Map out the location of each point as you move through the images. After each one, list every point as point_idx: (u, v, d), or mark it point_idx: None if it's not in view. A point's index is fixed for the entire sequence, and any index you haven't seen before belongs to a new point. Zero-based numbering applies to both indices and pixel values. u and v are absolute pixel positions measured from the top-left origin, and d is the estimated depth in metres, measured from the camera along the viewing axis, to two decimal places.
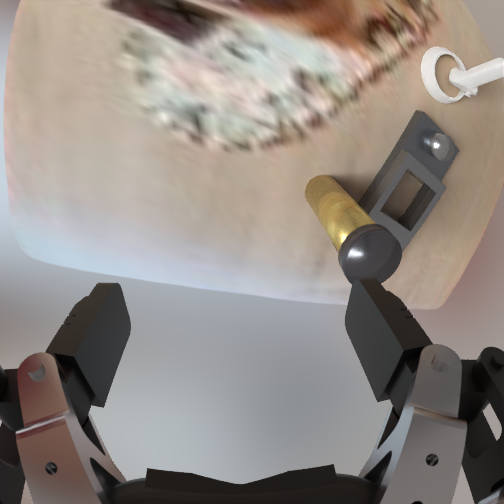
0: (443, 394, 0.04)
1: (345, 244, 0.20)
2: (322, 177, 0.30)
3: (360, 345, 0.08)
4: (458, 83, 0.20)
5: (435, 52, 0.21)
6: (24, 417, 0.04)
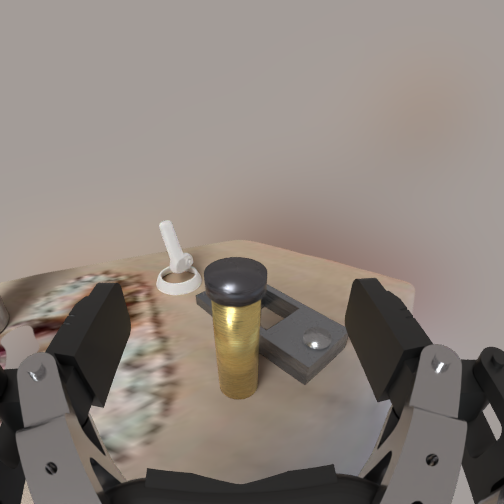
0: (443, 394, 0.04)
1: (212, 295, 0.21)
2: None
3: (360, 345, 0.08)
4: (178, 264, 0.43)
5: (158, 280, 0.44)
6: (24, 417, 0.04)
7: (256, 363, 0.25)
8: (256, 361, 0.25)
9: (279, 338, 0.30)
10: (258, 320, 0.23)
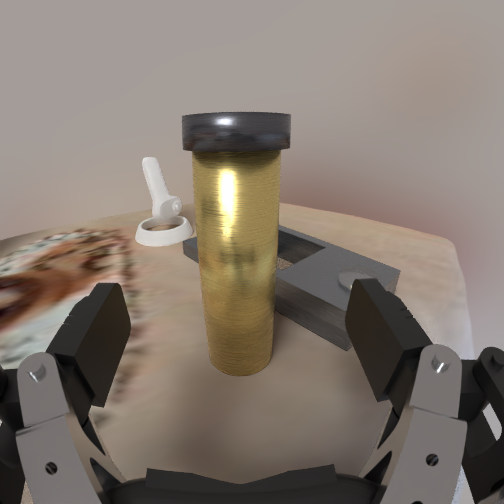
0: (443, 394, 0.04)
1: (192, 140, 0.11)
2: None
3: (360, 345, 0.08)
4: (162, 206, 0.33)
5: (137, 230, 0.34)
6: (24, 417, 0.04)
7: (272, 304, 0.15)
8: (272, 299, 0.15)
9: (303, 279, 0.20)
10: (277, 206, 0.13)
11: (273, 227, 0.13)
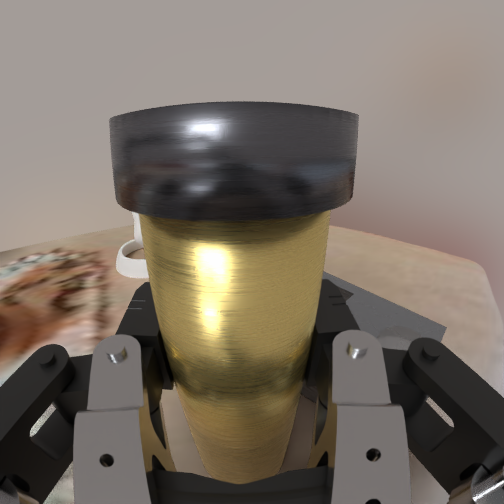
0: (368, 381, 0.05)
1: (122, 181, 0.04)
2: None
3: None
4: None
5: (117, 256, 0.28)
6: (90, 398, 0.04)
7: (291, 427, 0.08)
8: (292, 423, 0.08)
9: None
10: (316, 308, 0.06)
11: (306, 346, 0.06)
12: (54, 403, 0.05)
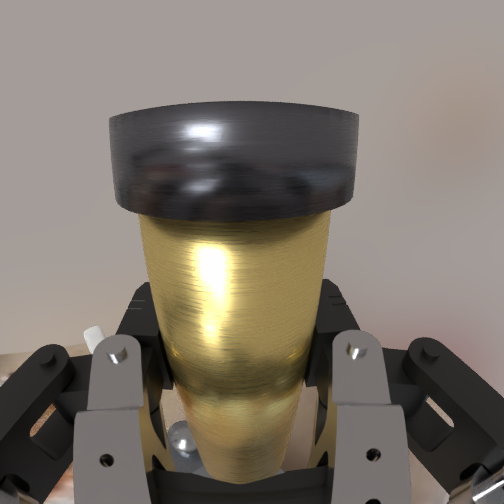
0: (368, 381, 0.05)
1: (121, 181, 0.04)
2: None
3: None
4: None
5: None
6: (90, 398, 0.04)
7: (291, 427, 0.08)
8: (292, 423, 0.08)
9: None
10: (316, 309, 0.06)
11: (306, 347, 0.06)
12: (54, 403, 0.05)
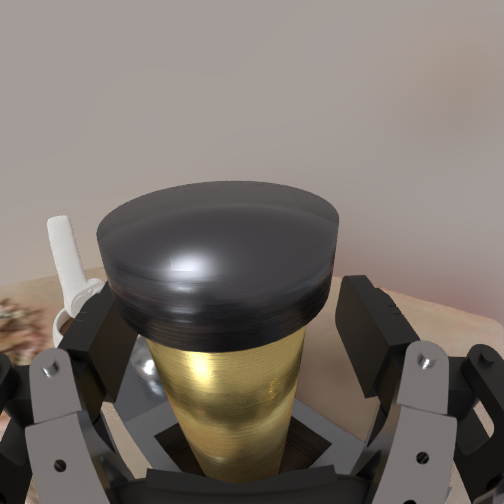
0: (431, 390, 0.04)
1: (118, 301, 0.05)
2: None
3: (349, 341, 0.09)
4: (74, 302, 0.19)
5: None
6: (34, 412, 0.04)
7: (281, 452, 0.09)
8: (282, 449, 0.09)
9: None
10: (297, 374, 0.07)
11: (289, 402, 0.07)
12: None
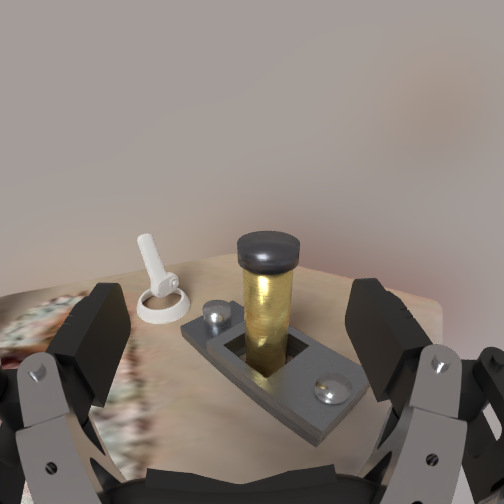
0: (443, 394, 0.04)
1: (246, 264, 0.21)
2: None
3: (360, 345, 0.08)
4: (159, 286, 0.35)
5: (138, 305, 0.36)
6: (24, 417, 0.04)
7: (286, 340, 0.25)
8: (286, 338, 0.25)
9: (283, 390, 0.22)
10: (290, 292, 0.23)
11: (288, 303, 0.23)
12: None
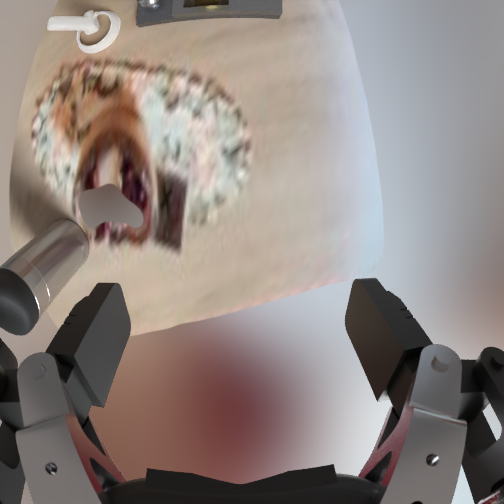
0: (443, 394, 0.04)
1: None
2: (196, 3, 0.27)
3: (360, 345, 0.08)
4: (94, 25, 0.24)
5: (88, 49, 0.28)
6: (24, 417, 0.04)
7: None
8: None
9: (243, 4, 0.26)
10: None
11: None
12: None
